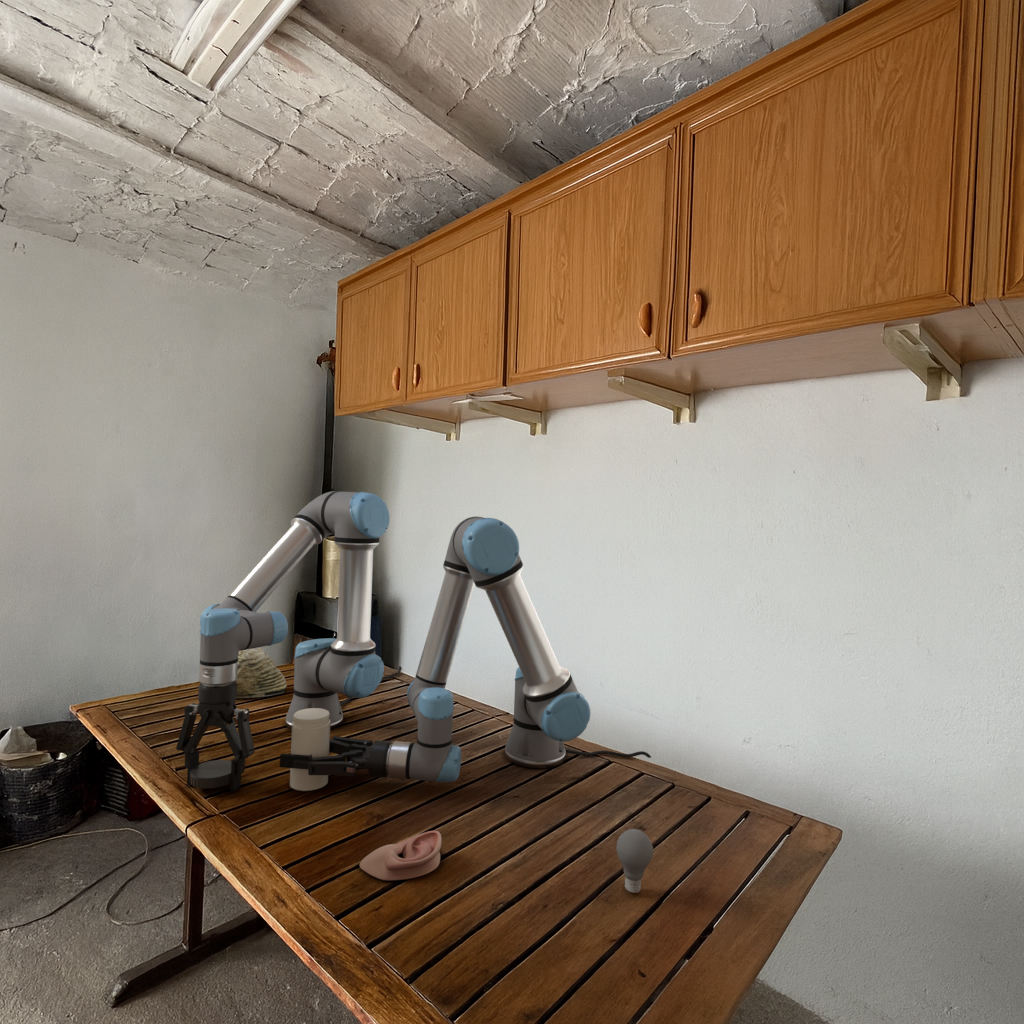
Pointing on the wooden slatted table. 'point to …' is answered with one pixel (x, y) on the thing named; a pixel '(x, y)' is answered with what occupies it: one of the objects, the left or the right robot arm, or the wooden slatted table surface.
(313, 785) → the jar
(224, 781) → the lid
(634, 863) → the light bulb
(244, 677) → the fossil
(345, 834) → the wooden slatted table surface
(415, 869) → the anatomical model
